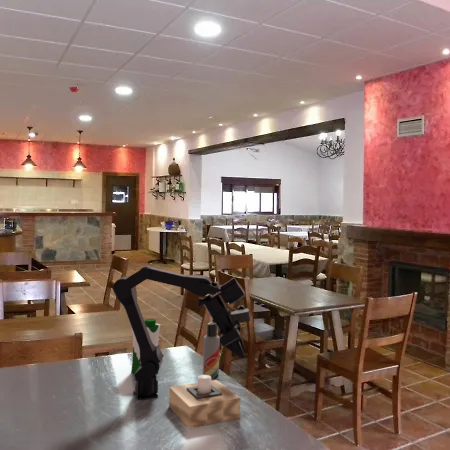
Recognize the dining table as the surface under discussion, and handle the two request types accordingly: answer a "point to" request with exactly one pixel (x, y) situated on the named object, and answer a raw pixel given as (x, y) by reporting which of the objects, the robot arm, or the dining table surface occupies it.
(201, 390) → the dowel
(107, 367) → the dining table surface
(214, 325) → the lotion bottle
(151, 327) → the milk carton
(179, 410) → the socket block
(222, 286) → the robot arm
